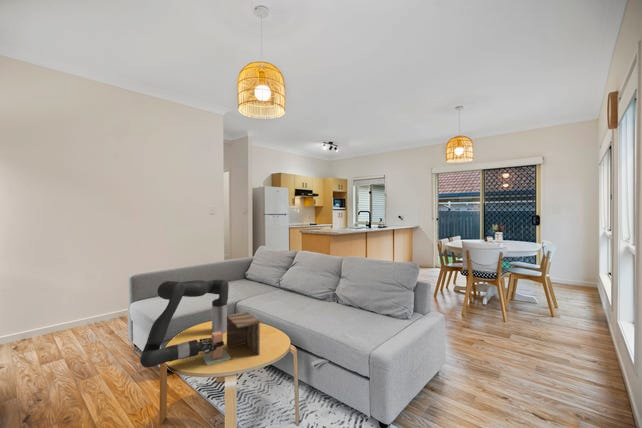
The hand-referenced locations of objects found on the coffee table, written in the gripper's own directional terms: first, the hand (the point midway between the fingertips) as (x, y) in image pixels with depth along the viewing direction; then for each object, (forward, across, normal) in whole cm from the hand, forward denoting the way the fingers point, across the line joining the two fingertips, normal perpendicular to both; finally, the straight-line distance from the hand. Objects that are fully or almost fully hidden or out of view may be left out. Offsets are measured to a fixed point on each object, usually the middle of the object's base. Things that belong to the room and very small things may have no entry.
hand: (222, 341), depth 154 cm
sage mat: (-3, 0, +8) cm, 9 cm away
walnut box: (+11, +1, +8) cm, 14 cm away
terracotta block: (-3, 0, +7) cm, 8 cm away
